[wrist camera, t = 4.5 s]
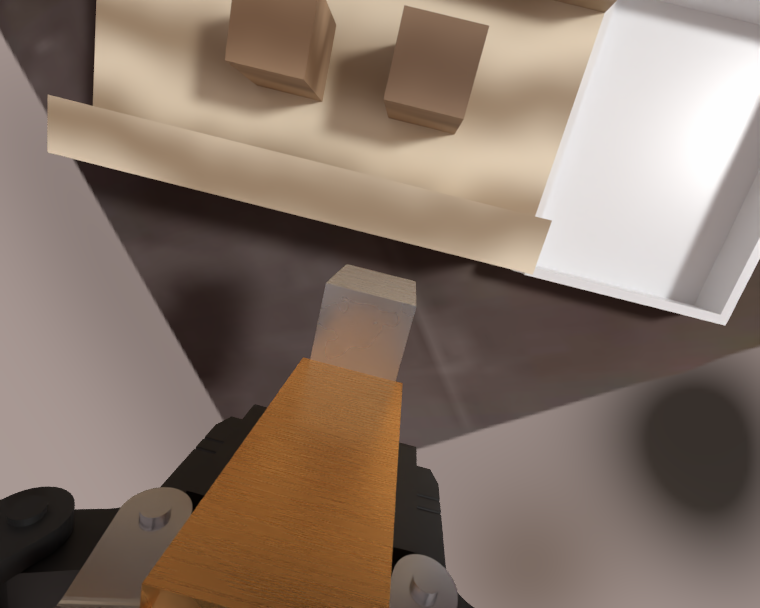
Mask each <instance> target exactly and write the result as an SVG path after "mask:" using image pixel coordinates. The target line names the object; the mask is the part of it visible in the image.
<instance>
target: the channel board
mask: <svg viewBox="0 0 760 608" xmlns="http://www.w3.org/2000/svg"><path fill="white" fill-rule="evenodd" d="M326 1H327V3H328V6H329V8H330V11H331V13H332V16H333V18H334V20H335V23H336V30H335V36H334V41H333V47H332V52H331V58H330V63H329V69H328V74H327V80H326V85H325V91H324V96H323V102H321V101H317V100H313V99H309V98H305V97H301V96H297V95H293V94H289V93H285V92H281V91H277V90H273V89H269V88H265V87H261V86H257V85H256V84H254V83H253V82H252V81H251V80H249V79H248V78H247V77H245V76H244V75H243V74H242V73H240V72H239V71H238V70H237V69H235V68H234V67H233V66H231V65H230V64H229V63H228V62H226V61H225V54H226V46H227V37H228V28H229V20H230V11H231V2H232V0H96V29H95V58H94V87H93V106H91V105H87V104H83V103H79V102H75V101H71V100H67V99H63V98H59V97H55V96H51V95H48V147H47V150H48V152H49V153H52V154H56V155H60V156H64V157H68V158H72V159H76V160H80V161H84V162H88V163H92V164H96V165H100V166H104V167H107V168H111V169H115V170H119V171H123V172H127V173H131V174H135V175H139V176H143V177H147V178H151V179H155V180H159V181H163V182H167V183H171V184H175V185H179V186H183V187H187V188H191V189H195V190H199V191H203V192H207V193H211V194H215V195H219V196H222V197H226V198H230V199H234V200H238V201H242V202H246V203H250V204H254V205H258V206H262V207H266V208H270V209H274V210H278V211H282V212H286V213H290V214H294V215H298V216H302V217H306V218H310V219H314V220H318V221H322V222H326V223H330V224H334V225H337V226H341V227H345V228H349V229H353V230H357V231H361V232H365V233H369V234H373V235H377V236H381V237H385V238H389V239H393V240H397V241H401V242H405V243H409V244H413V245H417V246H421V247H425V248H429V249H433V250H437V251H441V252H445V253H449V254H452V255H456V256H460V257H464V258H468V259H472V260H476V261H480V262H484V263H488V264H492V265H496V266H500V267H504V268H508V269H512V270H516V271H520V272H524V273H528V274H532V275H533V273H534V270H535V267H536V264H537V261H538V259H539V256H540V253H541V250H542V247H543V244H544V242H545V239H546V236H547V233H548V230H549V228H550V225H551V222H552V221H551V220H547V219H543V218H539V217H535V215H536V212H537V209H538V206H539V203H540V200H541V198H542V195H543V192H544V189H545V186H546V183H547V180H548V177H549V174H550V171H551V168H552V165H553V162H554V160H555V157H556V154H557V151H558V148H559V145H560V142H561V139H562V136H563V133H564V130H565V127H566V125H567V122H568V119H569V116H570V113H571V110H572V107H573V104H574V101H575V98H576V95H577V92H578V89H579V87H580V84H581V81H582V78H583V75H584V72H585V69H586V66H587V63H588V60H589V57H590V54H591V52H592V49H593V46H594V43H595V40H596V37H597V34H598V31H599V28H600V25H601V22H602V19H603V16H604V14H605V12H606V11H607V10H608V9H609V8H610V7H611V6H612V5H613V4H614V3H615V2H616V1H617V0H326ZM404 5H406V6H410V7H414V8H418V9H422V10H427V11H431V12H435V13H439V14H443V15H447V16H451V17H456V18H460V19H464V20H468V21H472V22H476V23H480V24H484V25H489V29H488V33H487V36H486V40H485V44H484V47H483V51H482V55H481V58H480V62H479V66H478V69H477V73H476V77H475V80H474V84H473V87H472V91H471V95H470V98H469V102H468V106H467V109H466V113H465V117H464V120H463V121H462V123H461V125H460V126H459V128H458V130H457V131H456V133H455V134H451V133H447V132H443V131H439V130H435V129H431V128H427V127H423V126H419V125H415V124H411V123H406V122H402V121H398V120H394V119H390V118H388V115H387V111H386V107H385V103H384V95H385V91H386V86H387V82H388V77H389V72H390V68H391V63H392V59H393V54H394V50H395V45H396V41H397V36H398V32H399V27H400V22H401V18H402V13H403V9H404Z"/></svg>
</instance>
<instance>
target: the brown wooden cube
mask: <svg viewBox="0 0 760 608" xmlns="http://www.w3.org/2000/svg"><path fill="white" fill-rule="evenodd" d="M335 30H336V23H335V20H334V18H333V16H332V13H331V11H330V8H329V6H328V3H327V1H326V0H232V2H231V11H230V20H229V28H228V37H227V46H226V54H225V61H226V62H228V63H229V64H230V65H231V66H233V67H234V68H235V69H237V70H238V71H239V72H240V73H242V74H243V75H244V76H245V77H247V78H248V79H249V80H251V81H252V82H253V83H254V84H256V85H257V86H261V87H265V88H269V89H273V90H277V91H281V92H285V93H289V94H293V95H297V96H301V97H305V98H309V99H313V100H317V101H321V102H323V96H324V91H325V85H326V80H327V74H328V69H329V63H330V58H331V52H332V47H333V41H334V36H335Z"/></svg>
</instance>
